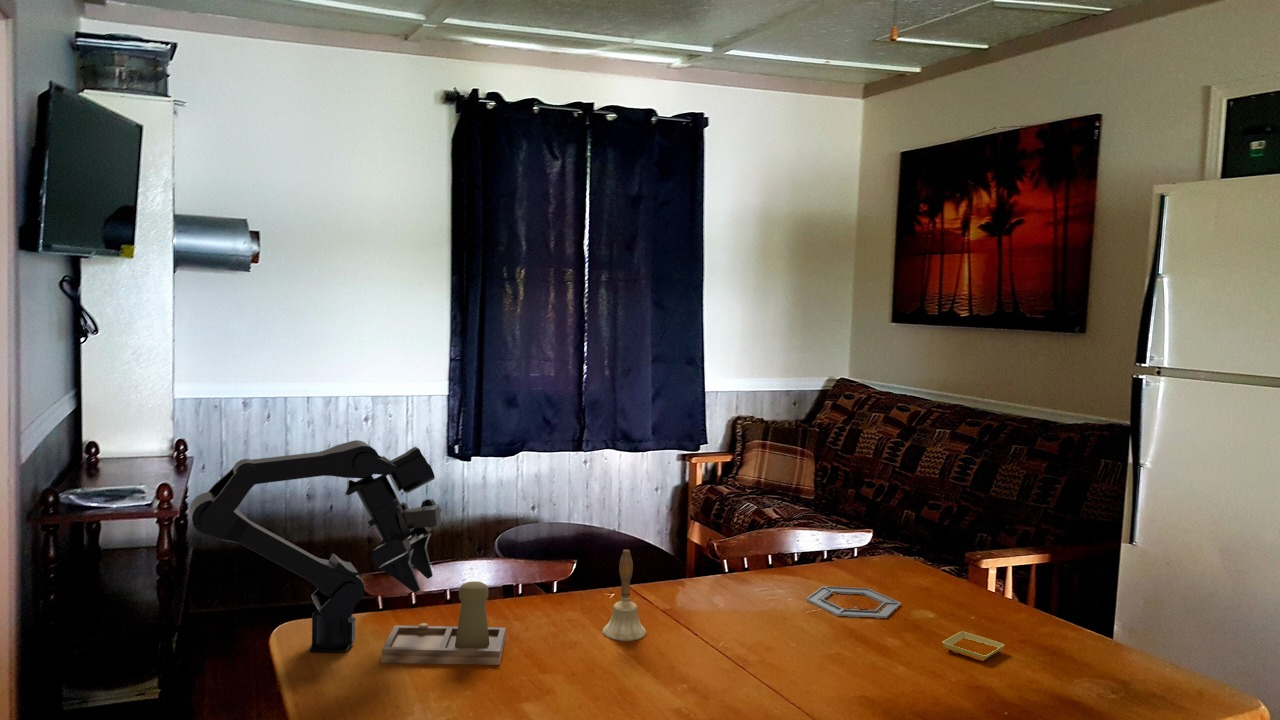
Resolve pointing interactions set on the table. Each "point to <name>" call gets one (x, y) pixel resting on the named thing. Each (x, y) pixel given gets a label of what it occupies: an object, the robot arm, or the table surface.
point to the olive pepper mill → (473, 616)
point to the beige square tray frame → (957, 637)
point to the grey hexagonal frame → (826, 591)
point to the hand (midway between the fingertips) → (424, 584)
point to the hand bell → (625, 608)
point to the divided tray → (439, 646)
